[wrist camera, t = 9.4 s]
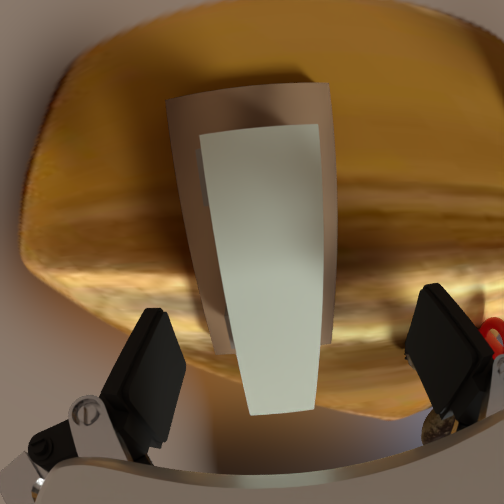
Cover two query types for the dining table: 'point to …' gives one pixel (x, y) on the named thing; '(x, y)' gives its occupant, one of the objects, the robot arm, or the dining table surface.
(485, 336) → the mug
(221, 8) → the dining table surface
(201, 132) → the board
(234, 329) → the pale grey rectangular block
